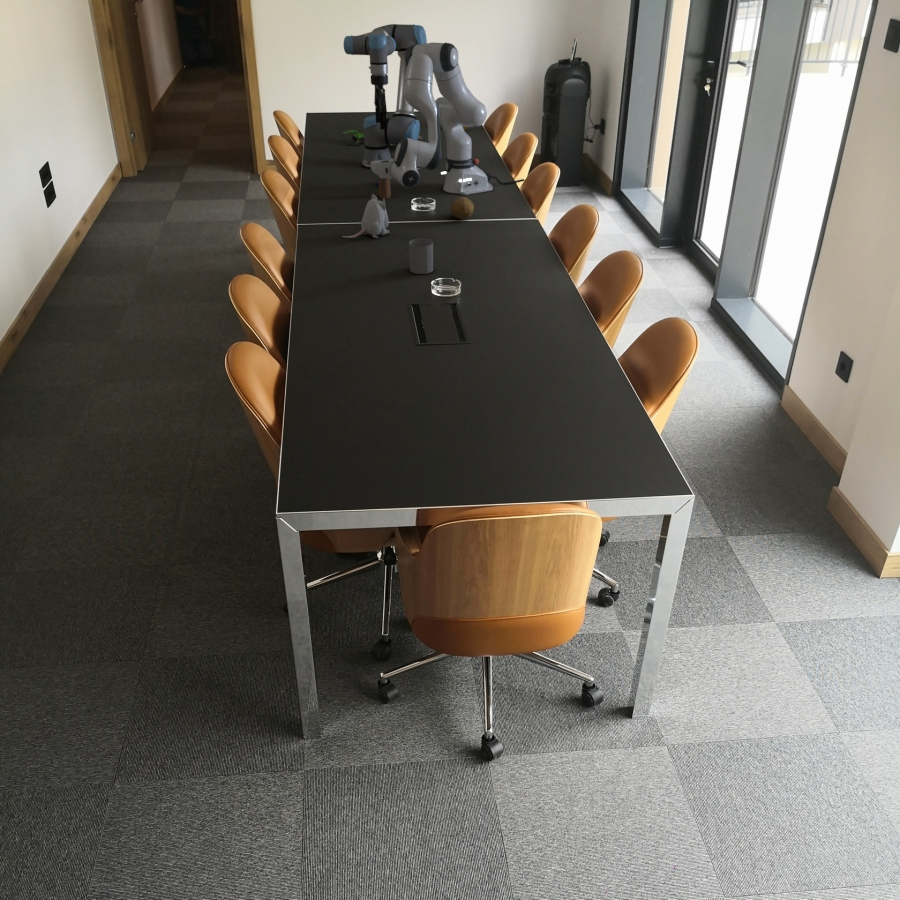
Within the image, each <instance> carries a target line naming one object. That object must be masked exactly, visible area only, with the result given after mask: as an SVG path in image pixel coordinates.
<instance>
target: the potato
mask: <svg viewBox="0 0 900 900" xmlns="http://www.w3.org/2000/svg"><path fill="white" fill-rule="evenodd" d="M474 210H475V204H474V203H473V201H472V200H471V199H469V198H468V197H466V196H459V197H457V198H455V199H454V200H453V202H452V203H451V206H450V213H451V214H452V216H454V217H455V218H457V219H459V220H466V219H468V218H470V217H471V216H473V213H474Z"/></svg>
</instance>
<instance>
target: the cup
mask: <svg viewBox="0 0 900 900" xmlns="http://www.w3.org/2000/svg"><path fill="white" fill-rule="evenodd" d="M408 253H409V272H411V273H412V274H416V275H426V274H430V273H432V272H434V241H433V240H431V239H428V238H422V237H421V238H420V237H419V238H414V239H411V240H410V241H409V242H408Z"/></svg>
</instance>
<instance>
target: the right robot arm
mask: <svg viewBox="0 0 900 900" xmlns="http://www.w3.org/2000/svg"><path fill="white" fill-rule="evenodd" d="M405 63H406V66H407V70H406V75H405V82H404V97H405V99H406V101H407V102H408V103H409V105H410V106H411V107H413V108H414V110H416V111H417V112H419V113H420V114H421V115H422V117H424V119H425V120H426V122H427V140H428V142H426V141H422V140H418V139H417V140H415V139H410V138H404V139H402V140H401V141H400V142H399V143H398V144H397V145H395V148H394V152H393V158H394V159H390V160H381V159H380V160H378V161H371V168H370V171H371V172H372V173H373V174H375V175H376V176H378V175H379V178H383V179H390V180H393V181H396V182H397V183H398V184H399V185H401V186H403V187H405V188H413V187H415V186H416V185H418V183H419V182H420V178H421V177H420V173H419V171H420V168H423V169H425V170H428V171H433V170H435V169H437V168H438V167H440V165H442V161H443V150H442V142H441V128H442V130H443V133H444V137H445V144H446V157H445V162H444V163H445V165H444V167H445V171H441V172H440V174H441V175H445V178H444V185H443V188H442V189H443V191H444V192H446V193H450V194H458V195H463V196H469V195H474V194H479V193H484V192H490V191H493V190H494V186H493V185H492V183H490V182H491V179H494V180H496V181H497V183H498V184H500V185H503V186H505V185H511V184H516V183H517V184H518V183H522V182H525V179H524V178H520V179H517V180H511V181H506V182H505V181H504V182H503V181H501V180H500V179H499V178H498V177H497V176H495V175H492V174H491V173H489V172H488V171H486V170H484V171H483V170H482V169H481V168H479V167H478V166H477V165H479V163H480V160H479V159H478V158H475V157H473V155H472V151H473V150H472V149H473V147H472V146H473V144H472V143H473V141H472V138H471V137H470V135H469V134H468V133H466V130H464V129H463V127H462V126H467V127H468V128H475V127H481V126H482V125H483V124H484V123H485V122H486V119H487V115H488V114H487V113H488V112H487V111H488V110H487V107H486V106H485V104H484V103H483V102H482V101H480V100H479V99H477V98H476V96H475V95H474V94H473V93H472V92H471V90H470V89H469V87H468V86H467V84H466V82H465V79H464V76H463V74H462V70H461V67H460V63H459V52H458V49H457V47H456V46H455V45H454V44H453V43H450V42H427V43H425V44H419V45H418V44H415V45H411V46H409V48H408V49H407V51H406V53H405ZM434 79H435V82H436V86H437V88H438V91H439V93H440V95H441V96H440V97H437V99H435V97H434V93H433V83H434ZM418 170H419V171H418ZM379 178H378V179H379ZM489 181H490V182H489Z"/></svg>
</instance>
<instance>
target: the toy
mask: <svg viewBox="0 0 900 900" xmlns="http://www.w3.org/2000/svg"><path fill="white" fill-rule="evenodd" d="M382 199H383V200H378V197H377V196H376V195H375V194H374V193H371V198H370V200H368V201H367V203H366V205H365V208H364V211H363V215H362V218H361V221H360V227H361V230H360V231H358V232H357V233H355V234H354V235H353V234H352V235H342V236H341V237H342V238H348V239H355V238H357V237H359V236H361V235H365V236H367V235H371V237H372V238H373V239H378V238H379V235H381V236H385V235H390V234H391V232H390V230H388V229H387V228H388V227H389V216H388V213H387V208H386V198H382Z"/></svg>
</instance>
